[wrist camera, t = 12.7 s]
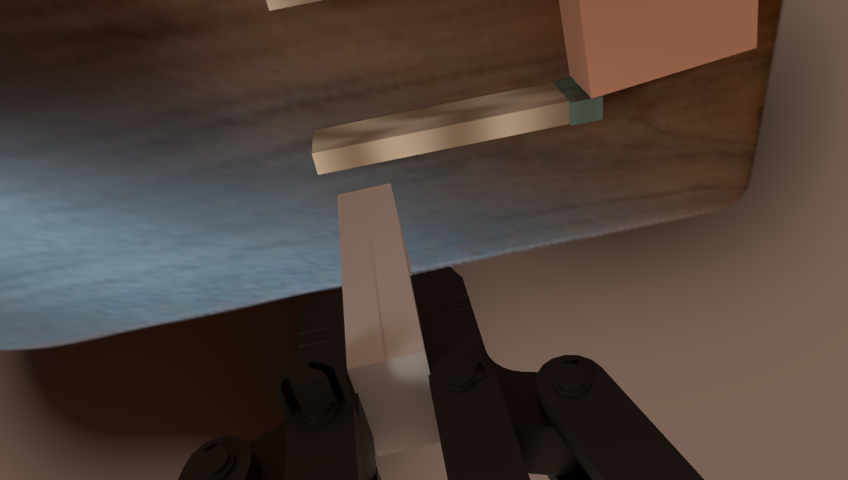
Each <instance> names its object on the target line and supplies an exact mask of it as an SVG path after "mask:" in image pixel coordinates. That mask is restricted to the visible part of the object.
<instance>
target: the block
mask: <svg viewBox="0 0 848 480" xmlns="http://www.w3.org/2000/svg"><path fill="white" fill-rule="evenodd" d="M559 6H560V12H561V19H562V26H563V33H564V39H565V46H566V53H567V60H568V66H569V73H570V76H571V77H572V78H573V79H574V81H575V82H576V83H577V84H578V85H579V86H580V87H581V88H582V89H583V90H584V91H585V92H586V93H587V94H588V95H589V96H590V98H591V99H592V98H596V97H599V96H602V95H605V94H609V93H612V92H615V91H618V90H622V89H625V88H628V87H631V86H635V85H638V84H641V83H644V82H648V81H651V80H654V79H657V78H661V77H664V76H667V75H670V74H673V73H677V72H680V71H683V70H686V69H690V68H693V67H696V66H699V65H703V64H706V63H709V62H712V61H716V60H719V59H722V58H725V57H729V56H732V55H735V54H738V53H742V52H745V51H748V50H751V49H754V48H757V25H758V0H559Z"/></svg>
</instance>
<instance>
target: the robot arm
mask: <svg viewBox="0 0 848 480" xmlns="http://www.w3.org/2000/svg"><path fill="white" fill-rule="evenodd" d="M337 200H338V218H339V236H340V254H341V272H342V289H343V293H339V294H335V295H330V296H326V297H322V298H317V299H313V300H309V301H308V302H307V304H306V306H305V307H304V309H303V311H302V313H301V315H300V318H299V334H300V336H299V349H298V361H297V362H295V363H294V364H292V365H291V366H290V367H288V368H287V369H285V370H284V372H283V373H282V374H281V376H280V377H279V378H278V379H277V382H276V385H275V389H274V391H275V393H276V395H277V398H278V400H279V402H280V404H281V406H282V408H283V410H284V412H285V415H286V417H287V418H286V419H285V420H284V421H283V422H282V423H280V424H279V425H278V426H277V427H276V428H274V429H272V430H271V431H269V432H267V433H265V434H264V435H262V436H260V437H258V438H256V439H254V440H252V441H250V442H246V441H245V440H243V439H242V438H241V437H238V436H232V435H227V436H222V437H217V438H214V439H212V440H210V441H209V442H207V443H205V444H203V445H202V446H201V447H200V448H198V449H197V450H196V451H195V452H194V453H193V454H192V455H191V457H190V458H189V460H188V461H187V463H186V464H185V466H184V468H183V470H182V472H181V474H180V477H179V479H178V480H381V478H380V475H379V472H378V469H377V466H376V460H375V450H376V452H377V455H378V456H382V455H386V454H391V453H395V452H399V451H404V450H408V449H412V448H416V447H421V446H425V445H429V444H433V443H438V442H441V447H442V452H443V457H444V462H445V467H446V472H447V477H448V480H530V478H529V475H528V473H531V474H544V475H548V477H549V479H550V480H704V479H703V478H702V477H701V476H700V475H699V474H698V473H697V471H696V470H695V469H694V468H693V467H692V466H691V465H690V464H689V463H688V462H687V460H686V459H685V458H684V457H683V456H682V455H681V454H680V453H679V452H678V451H677V449H676V448H675V447H674V446H673V445H672V444H671V443H670V442H669V441H668V440H667V439H666V437H665V436H664V435H663V434H662V433H661V432H660V431H659V430H658V429H657V428H656V426H655V425H654V424H653V423H652V422H651V421H650V420H649V419H648V418H647V417H646V415H645V414H644V413H643V412H642V411H641V410H640V409H639V408H638V407H637V406H636V405H635V404H634V402H633V401H632V400H631V399H630V398H629V397H628V396H627V395H626V394H625V393H624V391H623V390H622V389H621V388H620V387H619V386H618V385H617V384H616V383H615V382H614V380H613V379H612V378H611V377H610V376H609V375H608V374H607V373H606V372H605V371H604V369H603V368H602V367H601V366H599V365H598V364H596V363H595V362H594V361H592V360H591V359H588V358H585V357H582V356H577V355H564V356H560V357H556V358H553V359H551V360H550V361H548V362H547V363H545V364H544V365H543V366H542V367H541V369H540V370H539V372H520V371H512V370H509V369H506V368H503V367H501V366H500V365H498V364H496V363H495V362H494V361H492V360H491V358H490V357H489V356H488V354H487V352H486V350H485V347H484V344H483V341H482V338H481V334H480V331H479V328H478V325H477V322H476V319H475V316H474V313H473V310H472V307H471V303H470V300H469V297H468V294H467V291H466V288H465V285H464V281H463V278H462V277H461V276H459V274H457V273H456V272H455V271H454V270H453V269H452V268H451V267H447V268H443V269H438V270H434V271H429V272H425V273H421V274H416V275H412V274H411V269H410V265H409V260H408V256H407V251H406V247H405V243H404V239H403V234H402V230H401V226H400V222H399V218H398V213H397V209H396V205H395V201H394V196H393V192H392V188H391V184H390V183H389V184H385V185H380V186H376V187H371V188H367V189H362V190H358V191H354V192H349V193H345V194H340V195H337ZM374 447H375V449H374Z"/></svg>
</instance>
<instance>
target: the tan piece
mask: <svg viewBox="0 0 848 480" xmlns="http://www.w3.org/2000/svg"><path fill="white" fill-rule="evenodd" d="M316 1H321V0H266V2H267V5H268V8H269V11H271V10H276V9H281V8H286V7H291V6H296V5H301V4H306V3H311V2H316ZM602 119H603V96H599V97H596V98H592V99H591V98H590V96H589V95H588V94H587V93H586V92H585V91H584V90H583V89H582V88H581V87H580V86H579V85H578V84H577V83H576V82H575V81H574V79H573V78H570V79H565V80H560V81H555V82H550V83H545V84H540V85H535V86H530V87H525V88H520V89H515V90H510V91H505V92H501V93H496V94H491V95H486V96H481V97H476V98H471V99H466V100H461V101H456V102H451V103H446V104H441V105H436V106H431V107H426V108H422V109H417V110H412V111H407V112H402V113H397V114H392V115H387V116H382V117H377V118H372V119H367V120H362V121H357V122H352V123H347V124H343V125H338V126H333V127H328V128H323V129H318V130H314V132H313V144H312V156H313V160H314V163H315V166H316V170H317V173H318V175H320V174H325V173H330V172H335V171H340V170H345V169H350V168H355V167H360V166H364V165H369V164H374V163H379V162H384V161H389V160H394V159H399V158H404V157H409V156H414V155H419V154H424V153H429V152H433V151H438V150H443V149H448V148H453V147H458V146H463V145H468V144H473V143H478V142H483V141H488V140H493V139H498V138H503V137H507V136H512V135H517V134H522V133H527V132H532V131H537V130H542V129H547V128H552V127H557V126H562V125H567V124H570V125H571V126H573V125H578V124H582V123H587V122H592V121H597V120H602Z"/></svg>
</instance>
